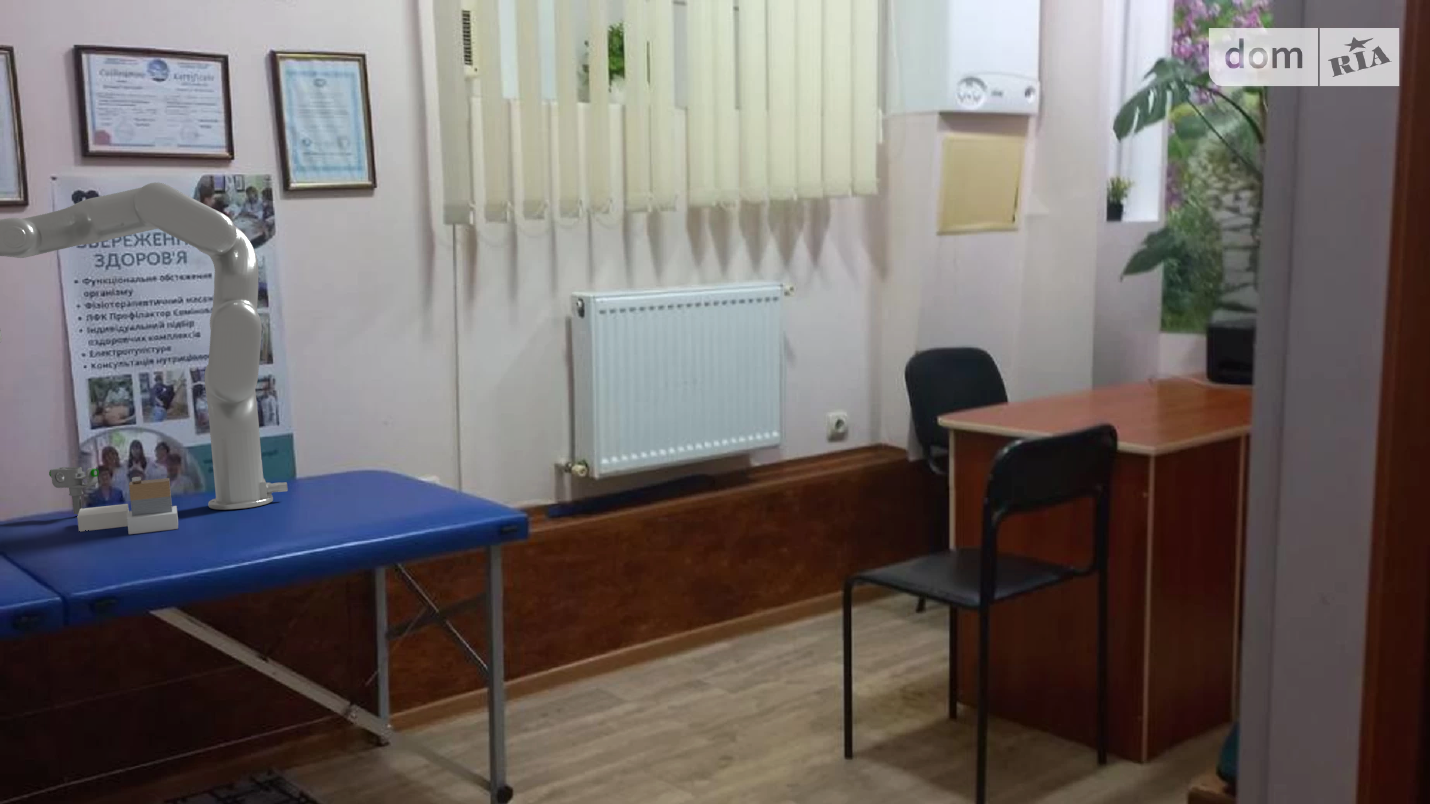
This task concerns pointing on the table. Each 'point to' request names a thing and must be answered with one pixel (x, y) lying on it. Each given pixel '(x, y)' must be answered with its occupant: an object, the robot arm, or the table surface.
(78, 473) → the mechanical component
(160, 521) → the stand
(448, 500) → the table surface
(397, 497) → the table surface
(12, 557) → the table surface
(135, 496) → the housing
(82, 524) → the stand
